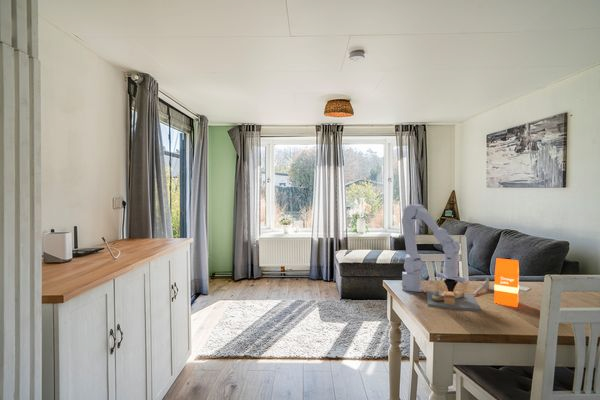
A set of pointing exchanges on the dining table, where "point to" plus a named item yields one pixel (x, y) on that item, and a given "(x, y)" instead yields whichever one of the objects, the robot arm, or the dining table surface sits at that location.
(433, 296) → the link
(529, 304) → the dining table surface
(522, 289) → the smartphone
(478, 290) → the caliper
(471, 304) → the keeper board
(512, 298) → the orange juice
